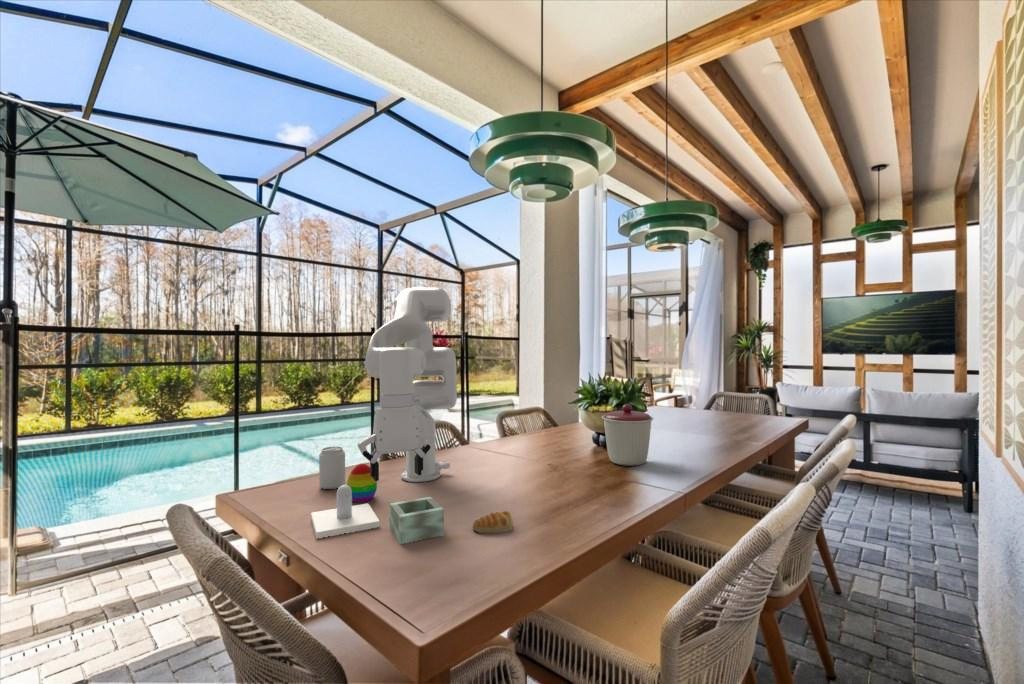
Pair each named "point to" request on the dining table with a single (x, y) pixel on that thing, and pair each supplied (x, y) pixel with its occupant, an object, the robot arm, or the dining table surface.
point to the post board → (344, 525)
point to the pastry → (494, 523)
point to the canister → (627, 436)
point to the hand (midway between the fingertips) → (397, 476)
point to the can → (331, 467)
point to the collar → (416, 520)
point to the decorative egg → (362, 483)
